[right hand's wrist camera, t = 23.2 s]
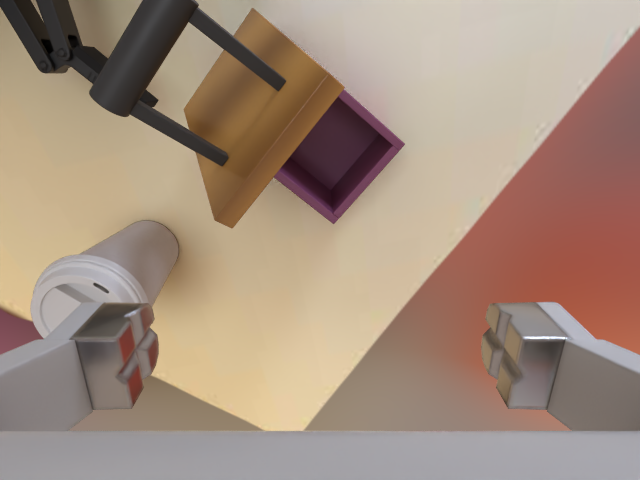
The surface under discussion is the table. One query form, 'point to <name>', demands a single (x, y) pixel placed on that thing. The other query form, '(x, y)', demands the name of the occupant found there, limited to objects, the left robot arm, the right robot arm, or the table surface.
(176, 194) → the table surface
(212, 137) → the lid
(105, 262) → the coffee cup
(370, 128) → the chest
